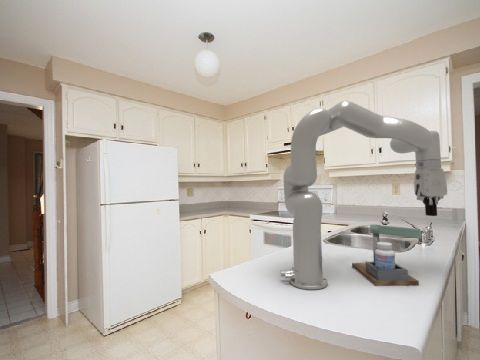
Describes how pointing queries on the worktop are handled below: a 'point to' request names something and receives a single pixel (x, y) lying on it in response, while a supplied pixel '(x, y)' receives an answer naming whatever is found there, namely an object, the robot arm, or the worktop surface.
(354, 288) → the worktop surface
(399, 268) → the socket
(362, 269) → the walnut board
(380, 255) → the pill bottle
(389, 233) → the bar
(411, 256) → the worktop surface
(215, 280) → the worktop surface
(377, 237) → the post
